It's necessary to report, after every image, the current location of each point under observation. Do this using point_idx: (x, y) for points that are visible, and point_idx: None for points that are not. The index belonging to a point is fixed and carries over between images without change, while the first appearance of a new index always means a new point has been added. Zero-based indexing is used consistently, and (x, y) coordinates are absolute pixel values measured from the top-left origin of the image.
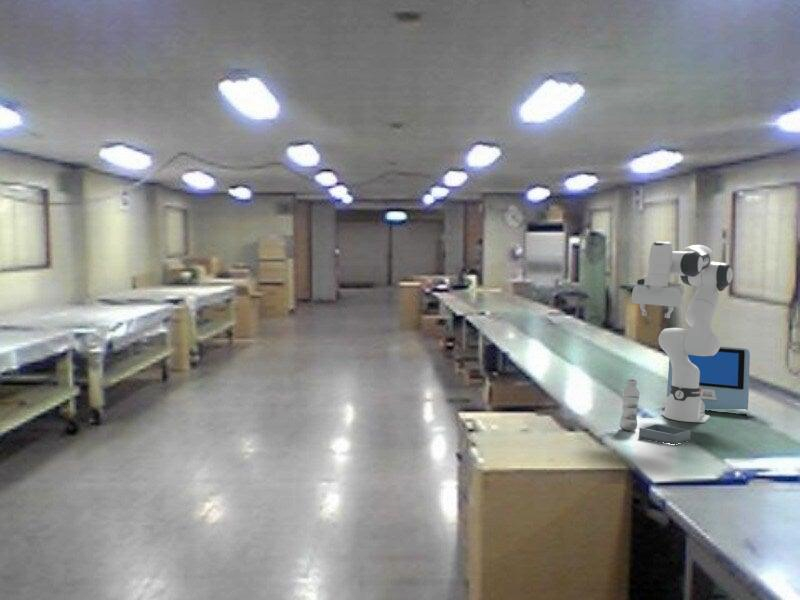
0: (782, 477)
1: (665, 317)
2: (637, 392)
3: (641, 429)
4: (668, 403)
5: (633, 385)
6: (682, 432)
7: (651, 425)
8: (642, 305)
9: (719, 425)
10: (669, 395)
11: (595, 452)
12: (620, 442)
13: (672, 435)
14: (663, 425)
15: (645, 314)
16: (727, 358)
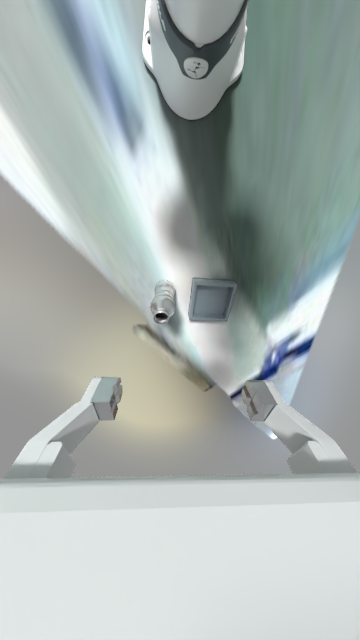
0: (304, 345)
1: (245, 394)
2: (173, 312)
3: (191, 319)
4: (161, 58)
5: (167, 318)
6: (231, 304)
7: (194, 297)
8: (66, 477)
9: (272, 68)
10: None
11: (181, 373)
12: (181, 338)
13: (223, 320)
14: (205, 284)
15: (119, 397)
16: None
